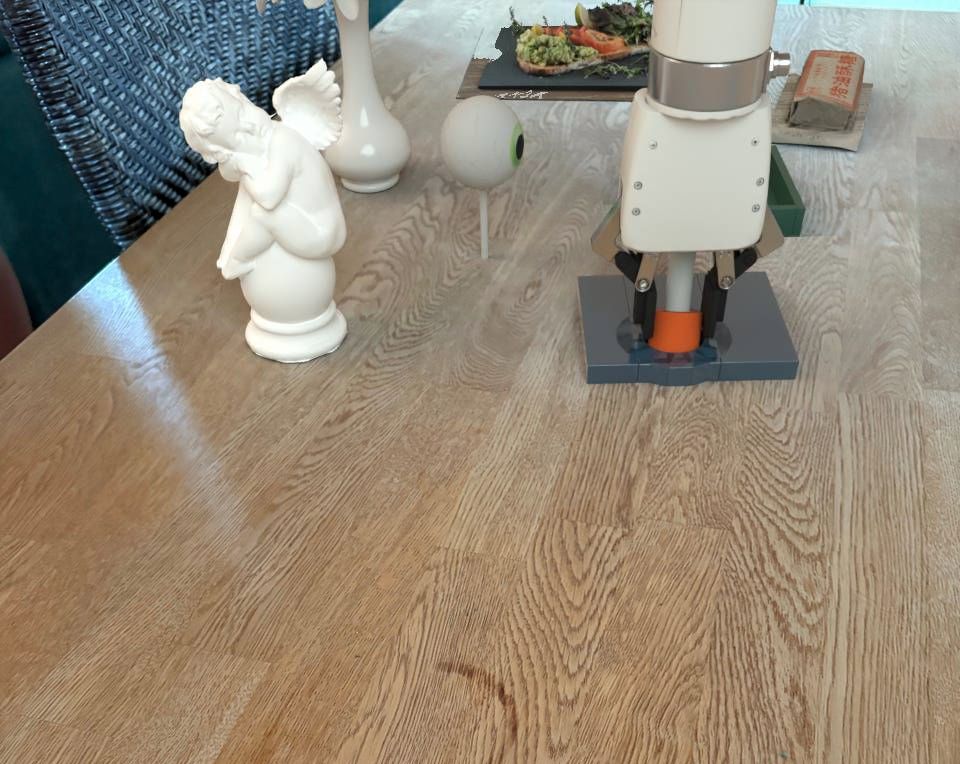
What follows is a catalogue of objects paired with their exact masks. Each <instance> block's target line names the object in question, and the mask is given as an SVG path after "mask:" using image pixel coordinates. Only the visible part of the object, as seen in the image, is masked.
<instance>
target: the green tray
mask: <svg viewBox="0 0 960 764" xmlns="http://www.w3.org/2000/svg"><path fill="white" fill-rule="evenodd" d="M767 204H768V206H769V208H770V210H771V212H772V214H773V216H774V218H775V220H776V222H777V223H778V225H779V227H780V229H781V231H782V234H783V236H784V238H800V237H801V234H802V228H803V223H804V220H805V219H804V218H805V215H806V214H805V213H806V209H807V208H806V205H805V204H804V201H803V199H802V198H801V195H800V193H799V191H798V189H797V187H796V184H795V182H794V181H793V178H792V176H791V174H790V171H789V169H788V168H787V165H786V164H785V161H784V159H783V156H782V155H781V153H780V150H779V149H778V147H777V145H776V144H771V158H770V172H769V184H768V195H767Z"/></svg>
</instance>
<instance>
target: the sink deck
mask: <svg viewBox="0 0 960 764" xmlns="http://www.w3.org/2000/svg"><path fill="white" fill-rule="evenodd" d="M707 274H708V272H694V276H693V285H692V295H691V304H690V311H695V312H700V309H701V301H702V294H703V286H704V279H705V275H707ZM654 281H655V285H656V290H657V303H656V310H664V303H665V293H666V283H667V273H655V275H654ZM634 293H635V285H634V284H633V283H632V282H631V281H630V280H629V279H628V278H627V277H626V276H625V275H624V274H605V275H603V274H602V275H577V276H576V300H577V310H578V318H579V328H580V336H581V346H582V354H583V355H582V356H583V363H584V372H585V381H586V384H587V385H606V384H607V385H608V384H609V385H610V384H611V385H613V384H652V385H656V386H662V387H691V386H695V385H699V384H703V383H706V382H742V381H743V382H744V381H749V382H750V381H788V380H789V381H792V380H793V381H794V380H796V378H797V375H798V374H797V373H798V369H799V364H800V358H799V357H798V354H797V351H796V348H795V345H794V342H793V340H792V337H791V335H790V332H789V330H788V326H787V324H786V321H785V319H784V317H783V314H782V311H781V308H780V306H779V305H780V304H779V303H778V301H777V297H776V294H775V292H774V290H773V287H772V284H771V282H770V279H769V276H768V273H767V271H766V270H765V271H764V270H763V271H762V270H761V271H745V272H744V273H743V274H742V275H740V276H739V277H738V278H737V279H736V280H735V284H734V285H733V287H732V288H730V289H728V293H727V300H726V307H725V313H724V319H723V322H716V328H715V335H714V338H707V337H706V336H704V334H703V330H702V326H701V333H700V342H699V347H698V348H696V349H695V350H691V351H688V352H674V353H670V352H665V351H660V350H658V349H655V348H653V347H651V346H649V345H648V340H643V335H642V330H641V324H634V322H633V305H634Z"/></svg>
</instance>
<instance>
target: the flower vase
mask: <svg viewBox="0 0 960 764" xmlns="http://www.w3.org/2000/svg"><path fill="white" fill-rule="evenodd" d="M268 1H269V0H255V1H254V2H255V5H256V10H257V11H258V13H259V14H260V15H262V14H264V12H265V11H266V7H267V4H268ZM328 1H329V0H303V5H304V7H306V9H308V10H313V9H318V8H320V7H322V6H323V5H324V4H326V3H327V2H328ZM331 1H332V5H333V9H334V13H335V17H336V18H335V19H336V23H337V28H338V34H339V35H338V37H339V48H340V58H341V60H340V61H341V71H342V93H341V101H342V102H341V104H339V107H340V109H341V112H340V114H341V115H342V117H343V122H342V124H343V129H342V130H341V131H342V134H341V137H340V138H339V139H338V141H337V142H333V143H332V146H329V147H327V148H326V150H321V155H322V156H323V157H324V159H325V160H326V162H327V164H328V166H329V168H330V170H331V172H332V174H333V173H334V175H336V176H338V177H339V178H340V182H341V185H342V186H343V187H344V188H345V189H347V190H348V191H351V192H354V193H361V194H371V193H379V192H383V191H386V190H389V189H391V188H393V187H395V185H397V184H398V182H399V180H400V172H402V171H403V169H405V167H406V166H407V164H408V162H409V160H410V158H411V155H412V152H413V148H412V147H413V146H412V141H411V137H410V135H409V132H408V131H407V129H406V128H405V126H404V125H403V124H402V123H401V122H400V120H399V119H398V118H396V117H395V116H394V115H393V113H391V112H390V110H389V109H388V107H387V105H386V103H385V101H384V99H383V97H382V95H381V92H380V90H379V85H378V81H377V77H376V71H375V65H374V58H373V57H374V56H373V50H372V43H371V35H370V24H369V21H370V20H369V3H370V2H369V0H331ZM271 3H272V4H275V5H276V6H277V5H279V4H280V0H271Z"/></svg>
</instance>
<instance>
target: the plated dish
mask: <svg viewBox="0 0 960 764" xmlns="http://www.w3.org/2000/svg"><path fill="white" fill-rule="evenodd" d="M620 2H621V3H620ZM633 2H634V3H635V6H634V5H633V4H632V2H631V1H630V2H629V1H623V0H617V2H616V3H615V2H614V3H612V4H610V3H609V2H608V1H605V2H603V1H602V2H600V3H601V4H600V5H601V6H599V5H598V4H597V5H596V6H595V7H593V8H590V7H589V8H588V9H586V8H585V7H584V5H583V4H582V2H581V1H578V3H577V4H576V6H575V8H574V19H575V23H576V25H570V24H568V23H566V21H563V25H562V24H561V25H562V26H561V25H560V26H548V25H549V24H548V19H547V17H546V16H545V15H542V19H543V20H544V22H543V24H544V25H547V26H541V24H539V23H534V24H532V25H533V26H522V25H523V22H520V23H519V21H517V19H515V18H516V16H515V12H514V11H515V9H514V8H513V7H512V6H509V8H508V10H509V14H510V18H509V20H510V21H512V22H511V24H510V25H511V26H510V27H509V28H505V27H504V28H501V31H500V33H499V36H498V38H497V40H496V43H495V48H496V49H499V50H500V51H501V52H502V55H501V56H500V57H499V58H498V59H496V60H494V59H491V60H490V59H489V58H488V59H486V58H483V59H478V58H476V59H474V57H473V58H472V57H471V59H470V61H469V64H468V66H467V69H466V72H465V74H464V77H463V79H462V81H461V83H460V86H459V89H458V92H457V95H456V97H455V99H463V100H465V99H467V98H470V97H474V96H480V95H486V96H491V97H494V98H497V99H499V100H502V99H501V96H499V95H500V94H505V93H508V94H507V95H505V96H504V97H505V98H504V99H503V100H539V99H538V98H539V96H540V95H539V96H535V97H532V98H530V96H531V95H534V94H537V93H540V92H548V93H545V94H542V99H541V100H549V101H550V100H552V101H553V100H554V101H555V100H557V101H559V100H560V101H624V102H625V101H627V102H628V101H630V102H633V99H634V96H635V93H636V92H637V91H638V90H640V89H642V88H647V81H648V69H649V56H650V45H651V31H652V19H653V13H652V14H651V11H652V12H653V9H652V8H653V6H654V0H634V1H633ZM618 3H620V4H618ZM649 5H650V10H648V11H647V12H646V11H645V10H646V7H648V6H649ZM642 6H643V7H642ZM651 9H652V10H651ZM517 25H518V26H517ZM520 25H521V26H520ZM492 60H494V61H492ZM489 61H490V62H489ZM530 90H532V93H531V92H528V91H530ZM516 92H519V93H518V94H520V93H524V94H520V95H518V94H517V95H516V97H515V98H513V97H514V96H515V95H512V94H514V93H516ZM526 92H528V93H526ZM529 93H531V94H529ZM527 94H529V95H528V97H525V99H524V98H520V96H526V95H527ZM458 95H459V97H457V96H458ZM495 95H496V96H495ZM509 95H511V96H509ZM497 96H499V97H497Z"/></svg>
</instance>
